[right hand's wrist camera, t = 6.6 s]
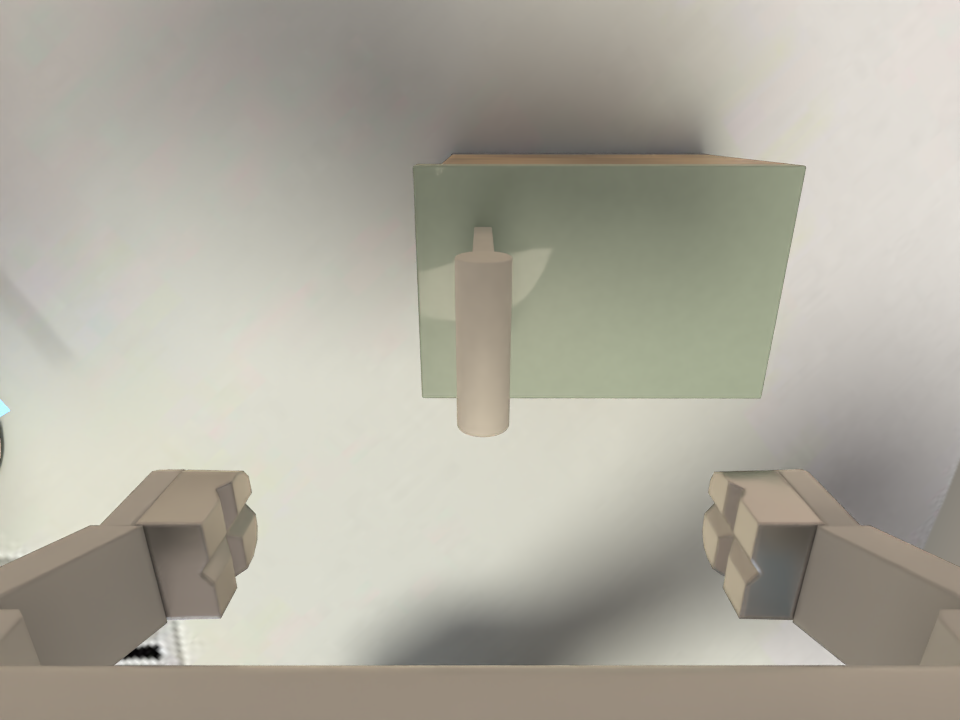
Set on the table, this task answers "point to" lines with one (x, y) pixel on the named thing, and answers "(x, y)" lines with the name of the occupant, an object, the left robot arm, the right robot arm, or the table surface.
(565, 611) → the table surface
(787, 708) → the right robot arm
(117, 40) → the table surface
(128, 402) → the table surface
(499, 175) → the lid
